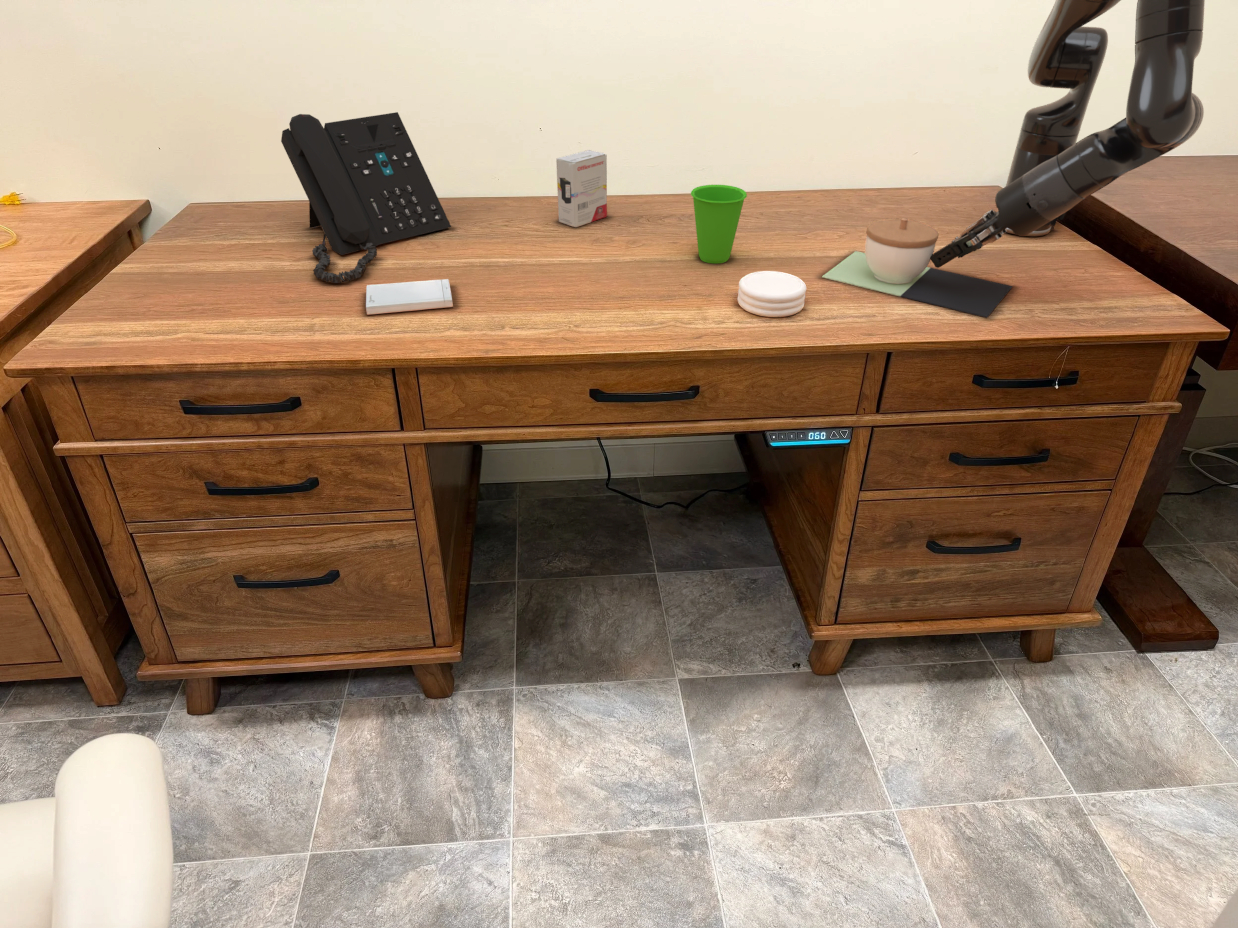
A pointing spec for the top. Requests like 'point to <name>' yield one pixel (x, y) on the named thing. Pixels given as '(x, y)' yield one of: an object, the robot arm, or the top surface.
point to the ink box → (582, 187)
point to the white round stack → (771, 293)
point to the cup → (716, 220)
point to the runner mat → (926, 286)
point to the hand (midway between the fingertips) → (934, 261)
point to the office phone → (361, 185)
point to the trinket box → (899, 249)
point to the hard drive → (408, 296)
